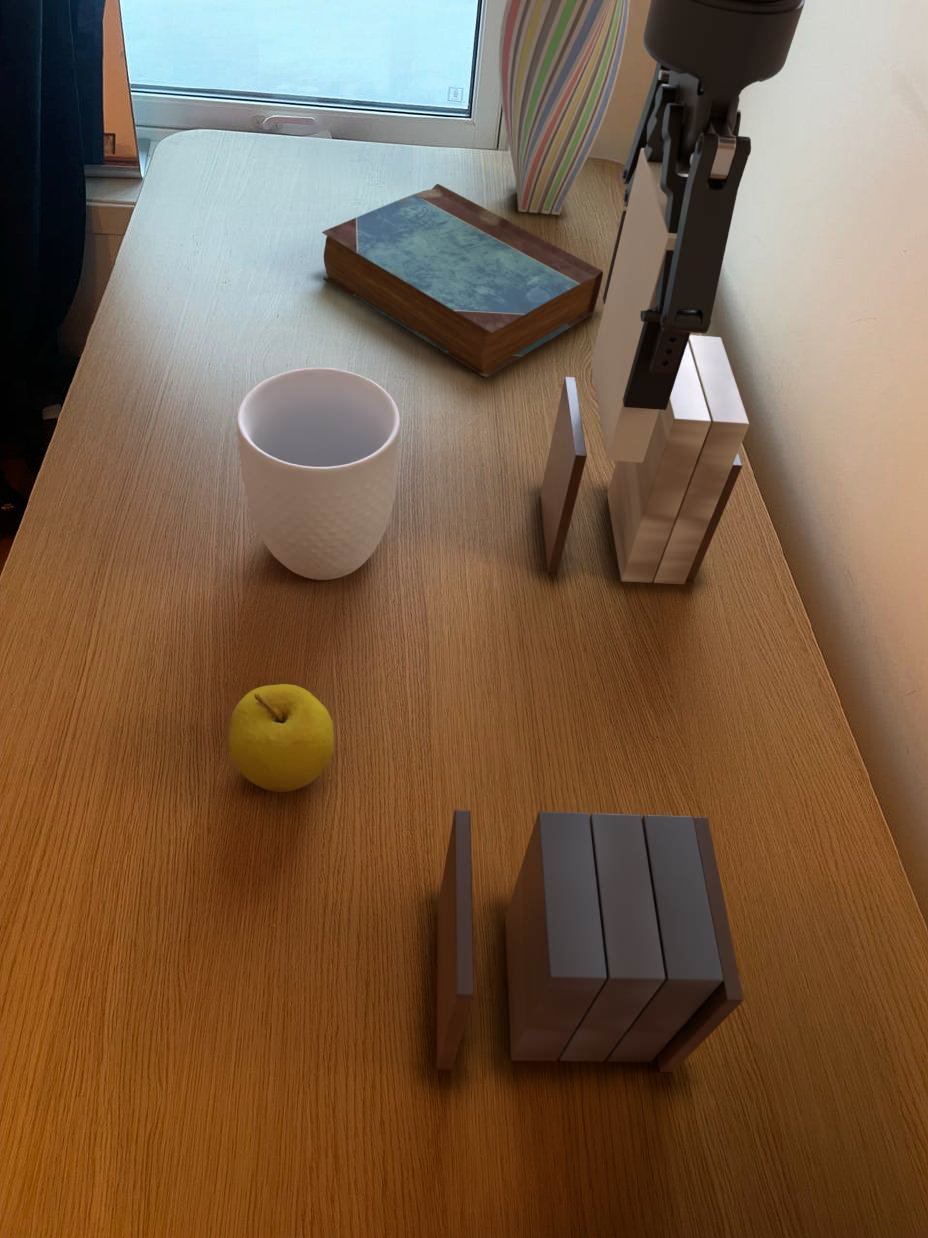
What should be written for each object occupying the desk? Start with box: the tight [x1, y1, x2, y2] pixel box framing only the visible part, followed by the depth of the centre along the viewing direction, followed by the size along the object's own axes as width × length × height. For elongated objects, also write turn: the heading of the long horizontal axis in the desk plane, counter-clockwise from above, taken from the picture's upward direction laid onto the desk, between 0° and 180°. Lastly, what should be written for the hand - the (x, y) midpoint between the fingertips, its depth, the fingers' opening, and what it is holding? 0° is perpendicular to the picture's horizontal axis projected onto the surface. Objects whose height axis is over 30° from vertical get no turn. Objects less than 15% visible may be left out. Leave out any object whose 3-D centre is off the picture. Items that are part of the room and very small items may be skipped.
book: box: [321, 183, 604, 379], centre depth 96 cm, size 23×18×5 cm
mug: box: [236, 367, 401, 581], centre depth 69 cm, size 15×11×13 cm
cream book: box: [590, 148, 688, 463], centre depth 61 cm, size 2×11×16 cm, turn 1°
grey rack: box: [436, 808, 745, 1073], centre depth 48 cm, size 13×9×13 cm
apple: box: [228, 683, 335, 793], centre depth 57 cm, size 6×6×8 cm
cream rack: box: [539, 334, 750, 585], centre depth 71 cm, size 12×10×16 cm
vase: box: [498, 0, 630, 216], centre depth 101 cm, size 14×14×30 cm
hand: (632, 350), depth 63 cm, fingers closed on cream book, 11 cm apart
